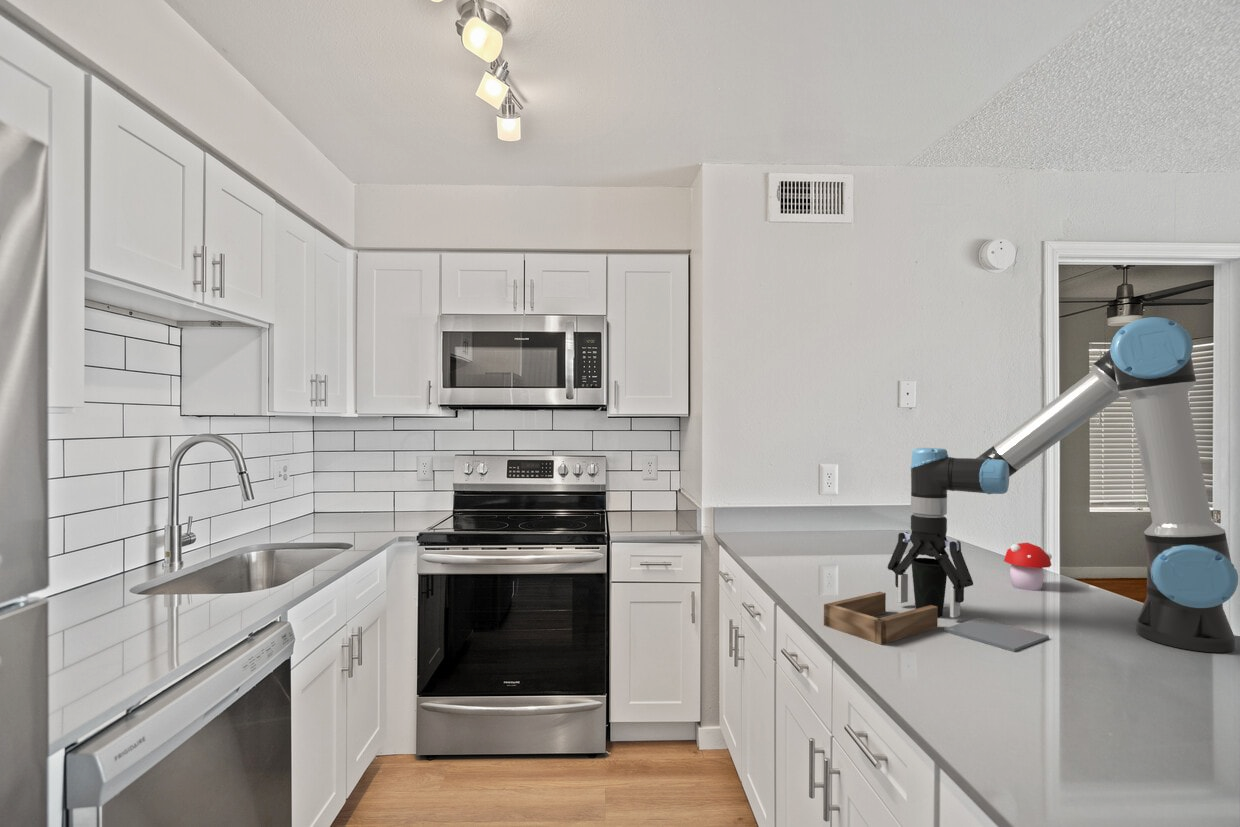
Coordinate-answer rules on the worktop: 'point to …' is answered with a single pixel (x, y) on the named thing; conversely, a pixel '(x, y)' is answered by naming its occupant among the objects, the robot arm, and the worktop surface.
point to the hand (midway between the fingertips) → (928, 609)
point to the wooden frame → (877, 619)
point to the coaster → (996, 634)
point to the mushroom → (1027, 565)
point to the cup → (929, 583)
